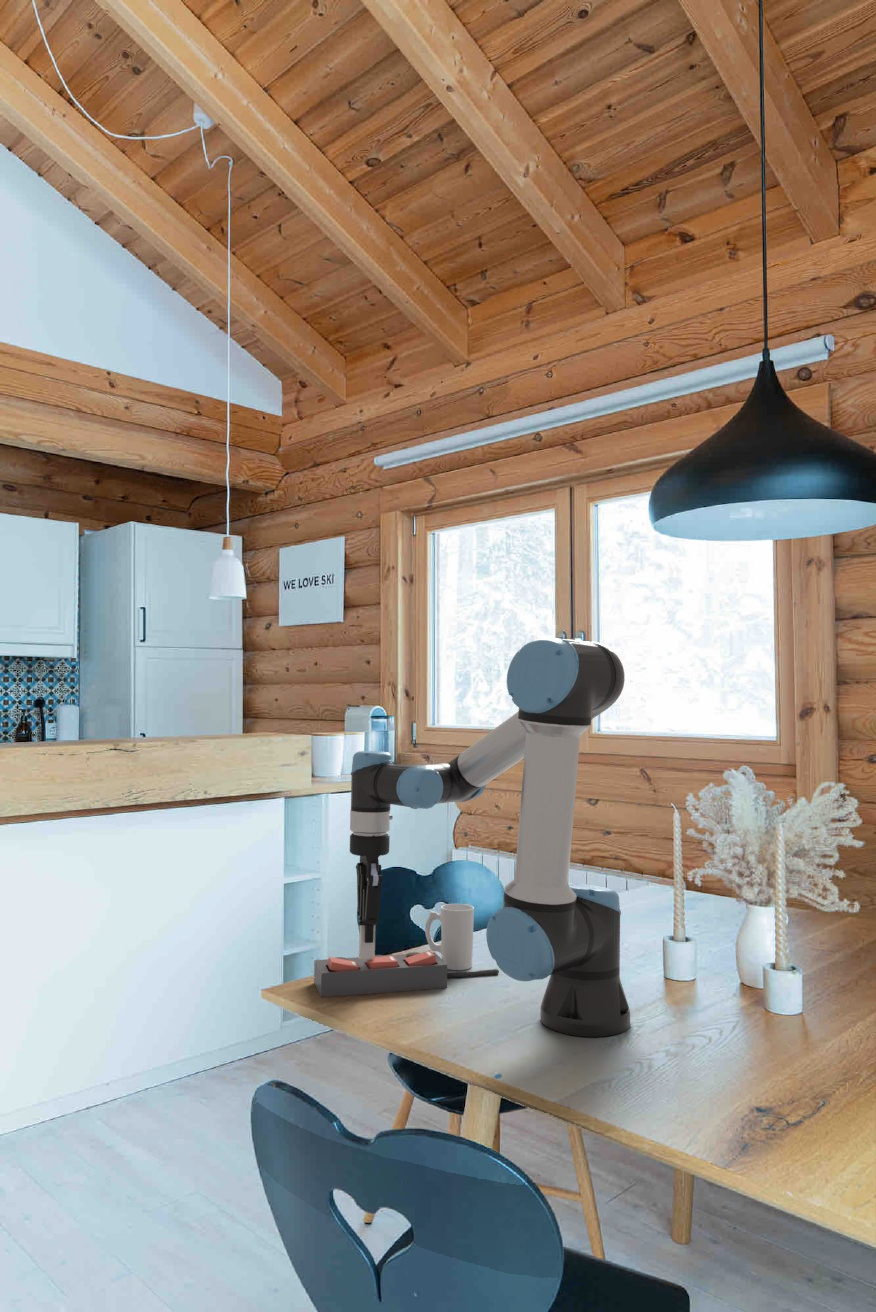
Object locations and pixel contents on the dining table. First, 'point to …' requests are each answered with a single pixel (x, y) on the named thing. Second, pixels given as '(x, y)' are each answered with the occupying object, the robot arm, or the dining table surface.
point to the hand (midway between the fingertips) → (366, 958)
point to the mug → (454, 935)
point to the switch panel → (385, 977)
